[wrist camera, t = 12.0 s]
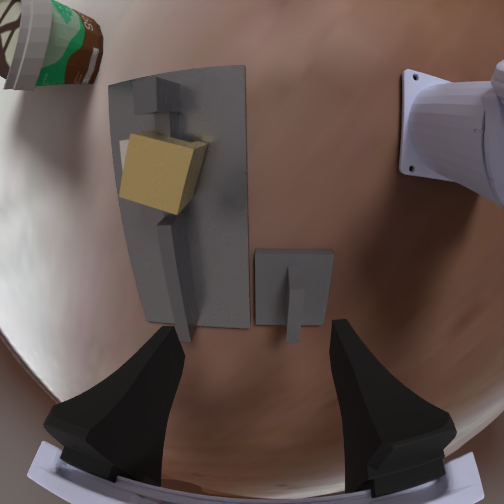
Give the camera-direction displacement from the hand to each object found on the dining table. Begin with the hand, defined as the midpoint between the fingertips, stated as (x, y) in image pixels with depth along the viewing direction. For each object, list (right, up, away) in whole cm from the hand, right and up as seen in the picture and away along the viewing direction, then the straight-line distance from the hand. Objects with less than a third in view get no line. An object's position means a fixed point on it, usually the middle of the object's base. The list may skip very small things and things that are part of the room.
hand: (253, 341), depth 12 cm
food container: (-15, +22, +2) cm, 26 cm away
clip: (-5, +10, +6) cm, 13 cm away
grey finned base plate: (+3, +1, +11) cm, 11 cm away
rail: (-5, +7, +8) cm, 12 cm away
